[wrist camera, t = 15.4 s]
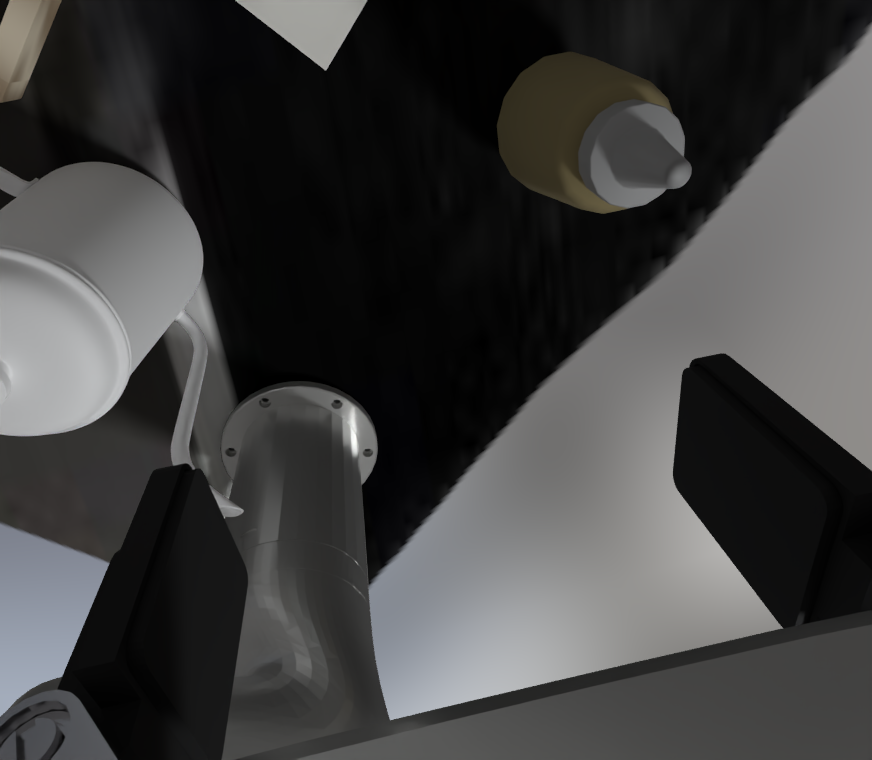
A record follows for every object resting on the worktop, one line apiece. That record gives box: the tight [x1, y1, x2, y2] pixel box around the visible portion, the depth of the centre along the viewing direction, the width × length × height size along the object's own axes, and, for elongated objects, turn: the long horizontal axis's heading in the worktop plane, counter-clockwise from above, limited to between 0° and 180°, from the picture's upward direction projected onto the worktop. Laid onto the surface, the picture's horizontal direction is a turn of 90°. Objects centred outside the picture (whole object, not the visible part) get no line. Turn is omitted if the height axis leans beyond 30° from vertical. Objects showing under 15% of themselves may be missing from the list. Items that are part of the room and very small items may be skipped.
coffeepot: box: [0, 162, 244, 517], centre depth 31 cm, size 11×25×19 cm, turn 40°
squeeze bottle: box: [497, 52, 691, 214], centre depth 32 cm, size 8×8×18 cm
